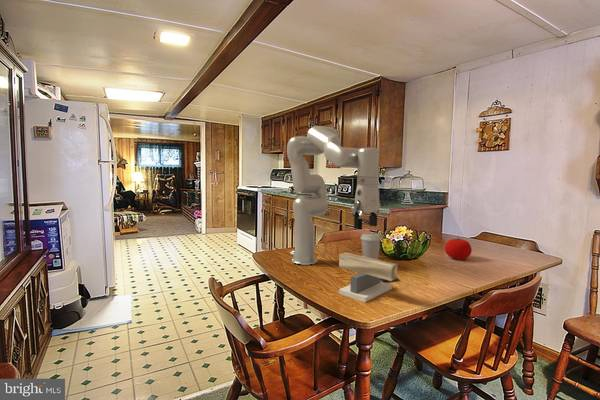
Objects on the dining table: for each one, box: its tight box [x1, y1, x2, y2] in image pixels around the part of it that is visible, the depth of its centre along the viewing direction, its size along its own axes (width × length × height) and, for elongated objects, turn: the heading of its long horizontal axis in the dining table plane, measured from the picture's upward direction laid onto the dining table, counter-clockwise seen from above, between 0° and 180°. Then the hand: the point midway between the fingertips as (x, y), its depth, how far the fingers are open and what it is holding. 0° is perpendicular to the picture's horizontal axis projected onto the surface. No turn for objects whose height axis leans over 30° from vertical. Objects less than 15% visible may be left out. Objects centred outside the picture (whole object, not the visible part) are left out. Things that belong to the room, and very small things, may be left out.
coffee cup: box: [360, 232, 382, 260], centre depth 147 cm, size 10×10×15 cm
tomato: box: [444, 237, 473, 260], centre depth 161 cm, size 11×12×10 cm
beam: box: [338, 252, 398, 282], centre depth 116 cm, size 4×22×5 cm, turn 45°
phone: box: [381, 277, 400, 283], centre depth 134 cm, size 8×1×15 cm
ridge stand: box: [338, 272, 393, 303], centre depth 116 cm, size 11×18×7 cm, turn 135°
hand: (365, 227), depth 119 cm, fingers open, 9 cm apart
